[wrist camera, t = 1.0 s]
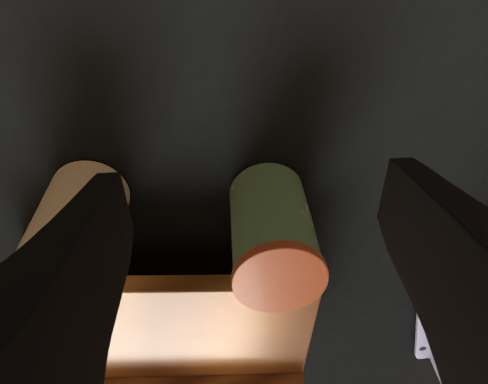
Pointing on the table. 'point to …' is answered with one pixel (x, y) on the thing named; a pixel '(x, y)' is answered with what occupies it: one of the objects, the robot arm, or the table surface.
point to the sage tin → (274, 241)
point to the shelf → (203, 335)
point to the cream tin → (65, 192)
